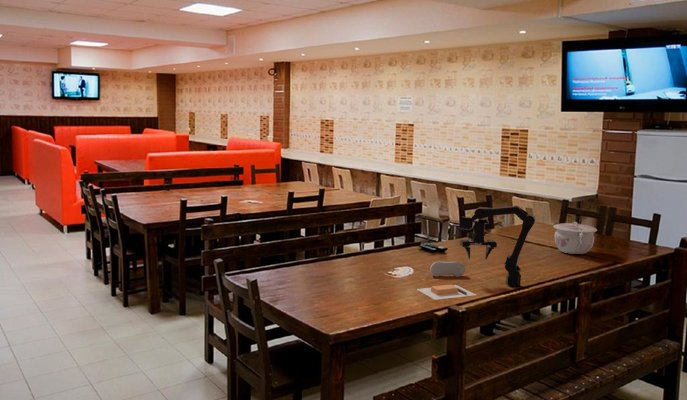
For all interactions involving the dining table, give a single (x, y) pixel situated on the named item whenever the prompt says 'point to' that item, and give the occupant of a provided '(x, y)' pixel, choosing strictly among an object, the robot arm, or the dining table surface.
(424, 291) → the mat
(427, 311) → the dining table surface
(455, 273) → the grey rounded panel
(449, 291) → the orange block
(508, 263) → the robot arm
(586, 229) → the chamber pot
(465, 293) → the long brown bar
